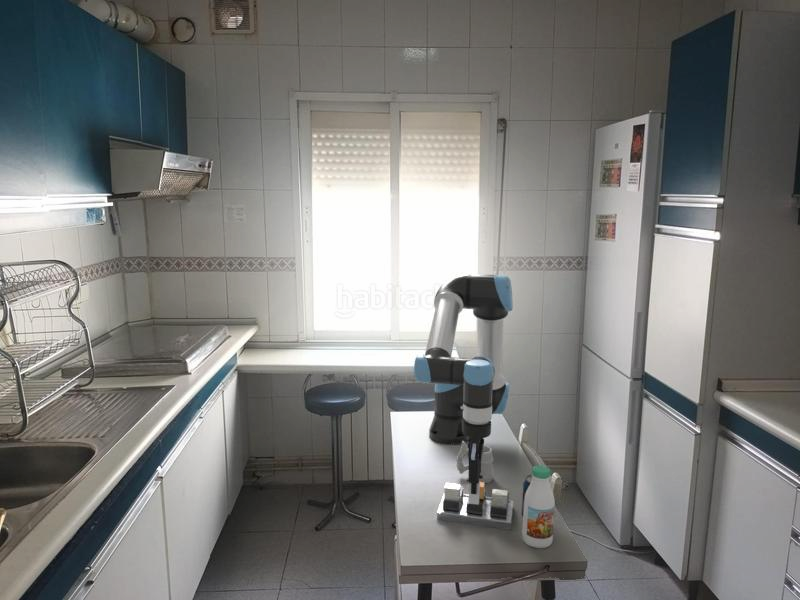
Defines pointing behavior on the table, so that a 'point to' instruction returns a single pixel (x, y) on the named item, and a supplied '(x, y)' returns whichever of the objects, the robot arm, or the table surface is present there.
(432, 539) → the table surface
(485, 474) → the mug
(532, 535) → the milk bottle
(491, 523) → the breaker panel
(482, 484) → the toggle
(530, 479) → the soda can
